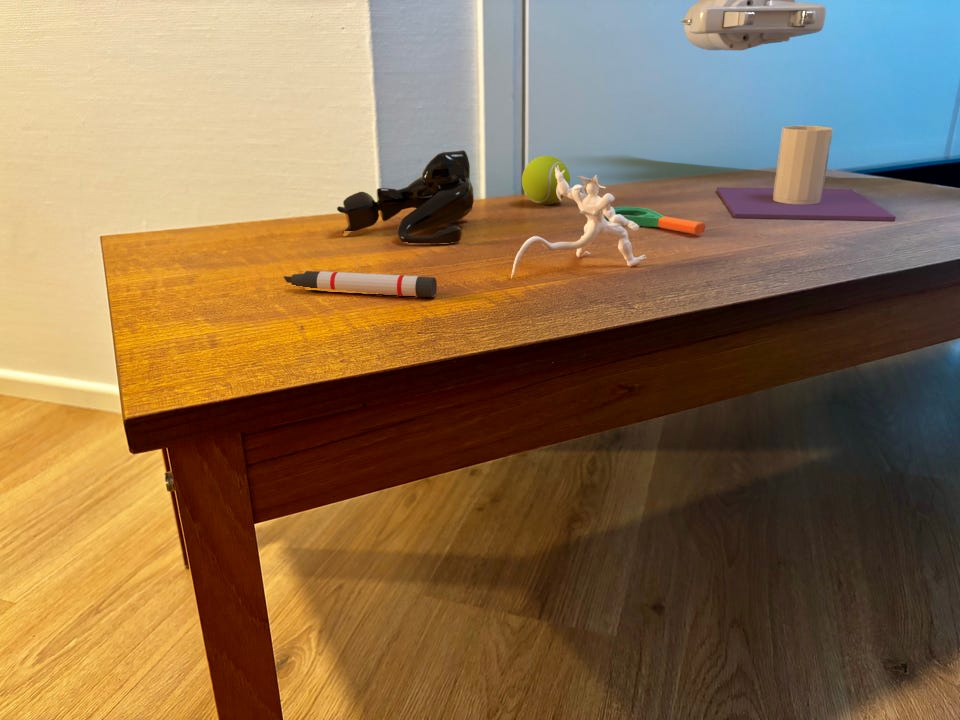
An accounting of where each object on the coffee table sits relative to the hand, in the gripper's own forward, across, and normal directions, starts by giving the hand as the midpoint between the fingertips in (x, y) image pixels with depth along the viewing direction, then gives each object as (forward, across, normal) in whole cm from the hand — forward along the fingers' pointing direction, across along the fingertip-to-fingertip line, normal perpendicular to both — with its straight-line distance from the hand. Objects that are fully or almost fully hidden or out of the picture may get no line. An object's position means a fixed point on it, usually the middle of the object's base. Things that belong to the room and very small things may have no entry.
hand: (780, 17), depth 107 cm
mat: (+12, 0, +25) cm, 28 cm away
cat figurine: (+21, -55, +25) cm, 64 cm away
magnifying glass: (+22, -25, +25) cm, 41 cm away
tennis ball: (+5, -35, +25) cm, 44 cm away
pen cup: (+12, 0, +24) cm, 27 cm away
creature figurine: (+40, -38, +25) cm, 60 cm away
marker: (+44, -62, +25) cm, 80 cm away
